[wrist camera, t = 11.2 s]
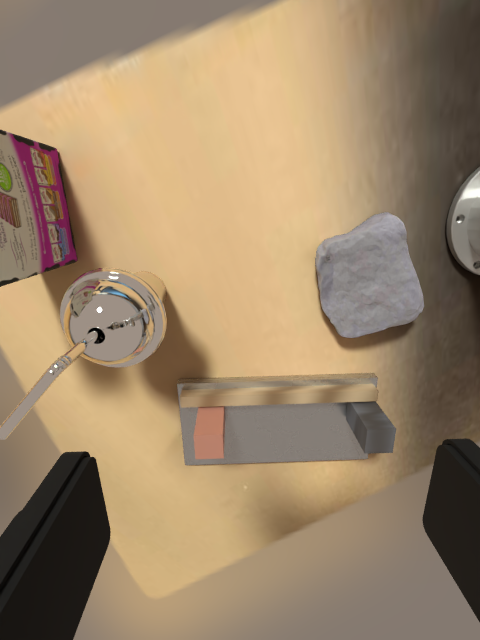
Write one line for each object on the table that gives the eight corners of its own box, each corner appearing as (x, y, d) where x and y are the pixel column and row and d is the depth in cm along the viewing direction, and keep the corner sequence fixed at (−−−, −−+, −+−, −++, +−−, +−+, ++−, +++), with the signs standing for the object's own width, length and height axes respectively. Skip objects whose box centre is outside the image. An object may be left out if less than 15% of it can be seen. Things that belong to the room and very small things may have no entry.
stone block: (333, 333, 40) (419, 306, 37) (337, 350, 36) (434, 321, 33) (299, 243, 37) (390, 206, 34) (299, 250, 33) (403, 208, 30)
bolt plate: (373, 372, 40) (378, 378, 38) (364, 452, 43) (367, 459, 42) (178, 379, 39) (177, 384, 38) (186, 458, 43) (185, 465, 42)
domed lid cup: (195, 312, 37) (156, 418, 18) (124, 338, 38) (14, 467, 19) (164, 241, 34) (78, 276, 15) (88, 271, 35) (-83, 340, 16)
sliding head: (224, 402, 39) (222, 434, 33) (225, 430, 40) (224, 465, 34) (199, 403, 39) (193, 435, 33) (201, 430, 40) (196, 466, 34)
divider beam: (372, 383, 39) (398, 414, 33) (368, 423, 41) (391, 460, 35) (181, 389, 39) (172, 422, 33) (185, 429, 40) (177, 467, 34)
